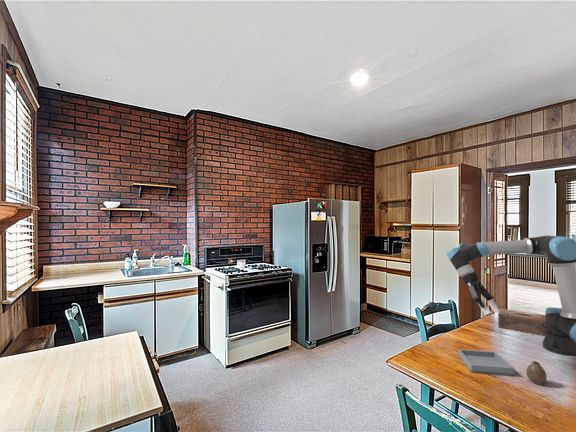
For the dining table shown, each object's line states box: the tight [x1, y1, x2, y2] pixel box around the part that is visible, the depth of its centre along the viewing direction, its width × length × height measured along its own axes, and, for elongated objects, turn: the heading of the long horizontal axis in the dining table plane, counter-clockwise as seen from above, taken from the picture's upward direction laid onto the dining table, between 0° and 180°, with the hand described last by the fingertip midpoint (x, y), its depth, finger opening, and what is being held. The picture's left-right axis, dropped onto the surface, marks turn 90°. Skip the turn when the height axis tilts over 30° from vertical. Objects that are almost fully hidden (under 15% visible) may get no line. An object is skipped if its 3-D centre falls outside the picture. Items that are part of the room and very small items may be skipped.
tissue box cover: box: [497, 308, 546, 337], centre depth 196 cm, size 26×14×10 cm, turn 49°
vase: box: [526, 360, 547, 385], centre depth 132 cm, size 7×7×9 cm
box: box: [457, 348, 515, 377], centre depth 148 cm, size 18×18×4 cm
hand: (493, 313), depth 148 cm, fingers open, 13 cm apart
